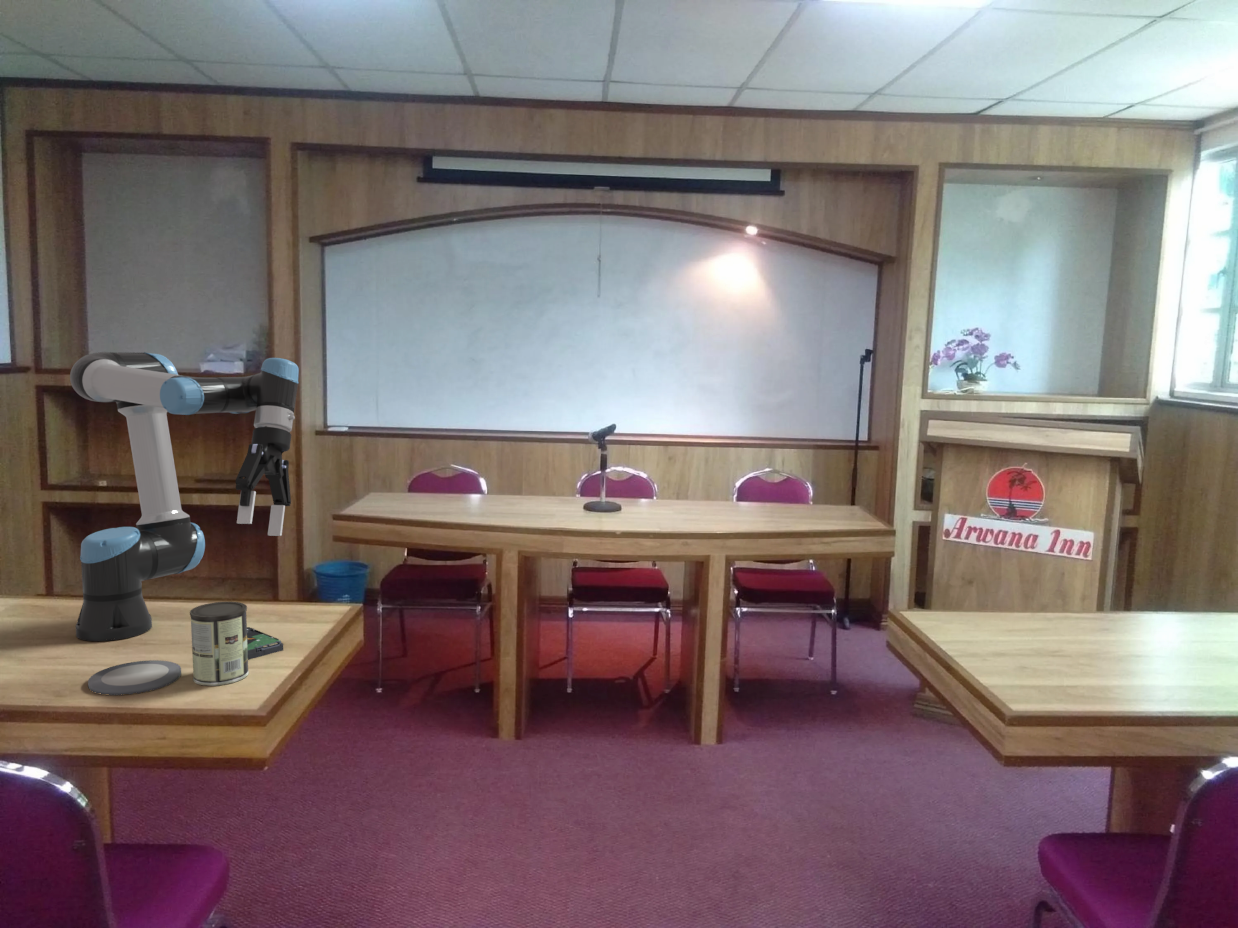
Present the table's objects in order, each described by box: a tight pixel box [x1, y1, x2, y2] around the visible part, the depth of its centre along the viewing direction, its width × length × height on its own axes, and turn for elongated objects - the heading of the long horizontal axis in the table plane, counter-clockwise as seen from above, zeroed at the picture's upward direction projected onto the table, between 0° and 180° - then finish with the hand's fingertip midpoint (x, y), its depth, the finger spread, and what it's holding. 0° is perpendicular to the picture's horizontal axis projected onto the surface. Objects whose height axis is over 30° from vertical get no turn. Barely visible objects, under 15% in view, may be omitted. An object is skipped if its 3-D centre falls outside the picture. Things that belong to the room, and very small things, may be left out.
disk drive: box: [247, 626, 284, 661], centre depth 187 cm, size 10×3×15 cm
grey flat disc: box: [87, 659, 182, 696], centre depth 168 cm, size 16×16×1 cm
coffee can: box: [189, 601, 250, 687], centre depth 170 cm, size 10×10×14 cm
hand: (259, 529), depth 174 cm, fingers open, 13 cm apart
